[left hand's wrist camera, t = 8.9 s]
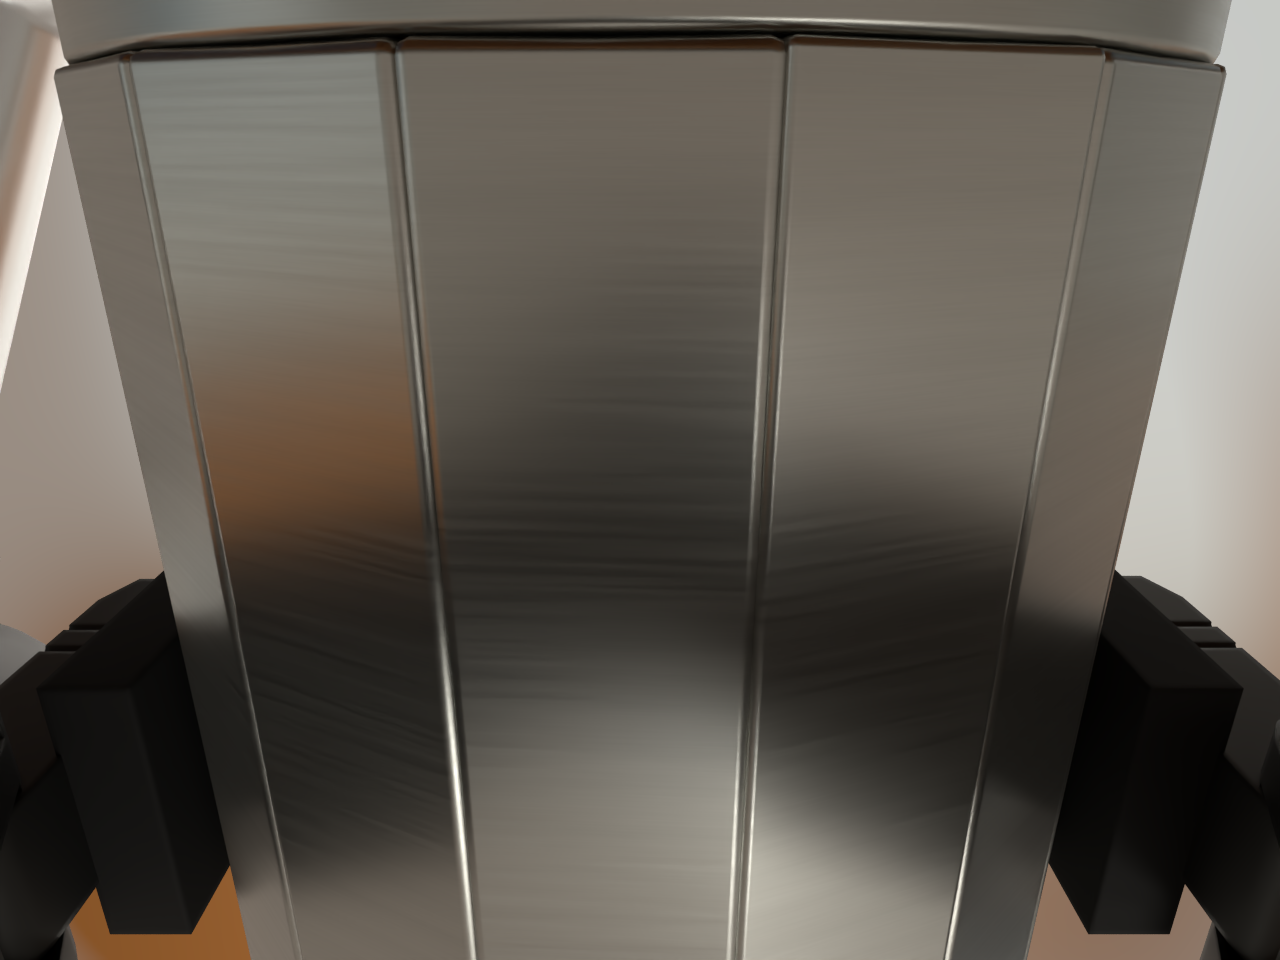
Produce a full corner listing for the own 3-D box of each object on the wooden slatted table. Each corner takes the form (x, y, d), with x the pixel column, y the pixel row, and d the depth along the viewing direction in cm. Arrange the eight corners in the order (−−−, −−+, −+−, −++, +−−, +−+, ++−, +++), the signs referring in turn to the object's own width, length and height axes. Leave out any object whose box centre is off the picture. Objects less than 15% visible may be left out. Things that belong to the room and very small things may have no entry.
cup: (1180, 29, 9) (1021, 807, 13) (501, 57, 12) (532, 667, 16) (1485, -318, 2) (937, 1624, 6) (-266, -41, 5) (104, 1077, 9)
